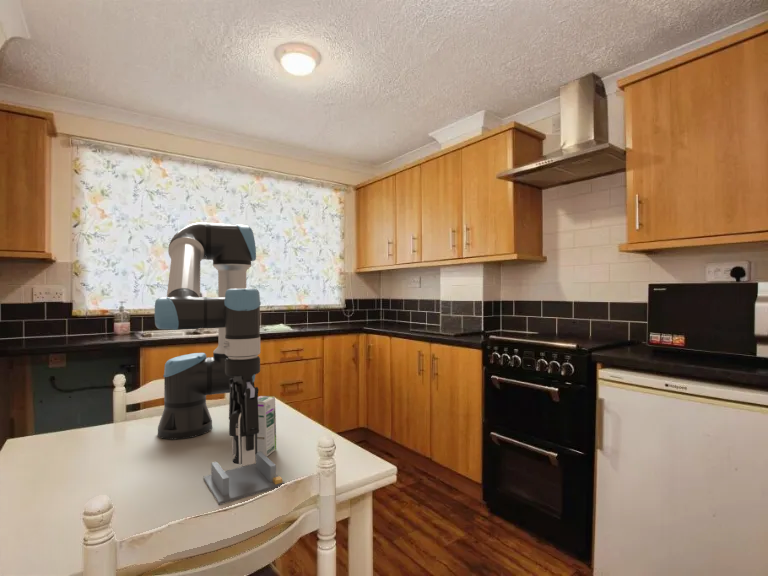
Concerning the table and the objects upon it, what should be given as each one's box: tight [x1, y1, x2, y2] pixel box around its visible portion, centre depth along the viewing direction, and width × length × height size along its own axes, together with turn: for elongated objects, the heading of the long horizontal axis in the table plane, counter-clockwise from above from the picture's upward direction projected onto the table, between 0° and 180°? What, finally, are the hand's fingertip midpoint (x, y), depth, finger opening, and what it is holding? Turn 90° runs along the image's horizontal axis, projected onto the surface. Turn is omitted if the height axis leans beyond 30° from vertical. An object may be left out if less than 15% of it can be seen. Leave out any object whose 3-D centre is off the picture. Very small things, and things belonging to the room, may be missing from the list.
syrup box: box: [255, 395, 277, 458], centre depth 110 cm, size 6×6×14 cm
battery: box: [228, 408, 257, 466], centre depth 93 cm, size 7×4×11 cm, turn 170°
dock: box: [202, 451, 286, 505], centre depth 93 cm, size 14×14×4 cm
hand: (243, 458), depth 93 cm, fingers closed on battery, 7 cm apart
